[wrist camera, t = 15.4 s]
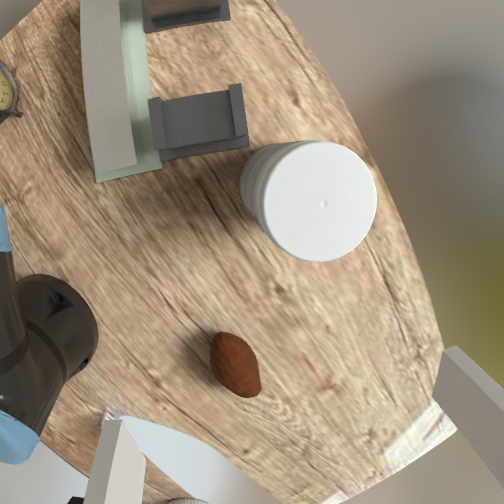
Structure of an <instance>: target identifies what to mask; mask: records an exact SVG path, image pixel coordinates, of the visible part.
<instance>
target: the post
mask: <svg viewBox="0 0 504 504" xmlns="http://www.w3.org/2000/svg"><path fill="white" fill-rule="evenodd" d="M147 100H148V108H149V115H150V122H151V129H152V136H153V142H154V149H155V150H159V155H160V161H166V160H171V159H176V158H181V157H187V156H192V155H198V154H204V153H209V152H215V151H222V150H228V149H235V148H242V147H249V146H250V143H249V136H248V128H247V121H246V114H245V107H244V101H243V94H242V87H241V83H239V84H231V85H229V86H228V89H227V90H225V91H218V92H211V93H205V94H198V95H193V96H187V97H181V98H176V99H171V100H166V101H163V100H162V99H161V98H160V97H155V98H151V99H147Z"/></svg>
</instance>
